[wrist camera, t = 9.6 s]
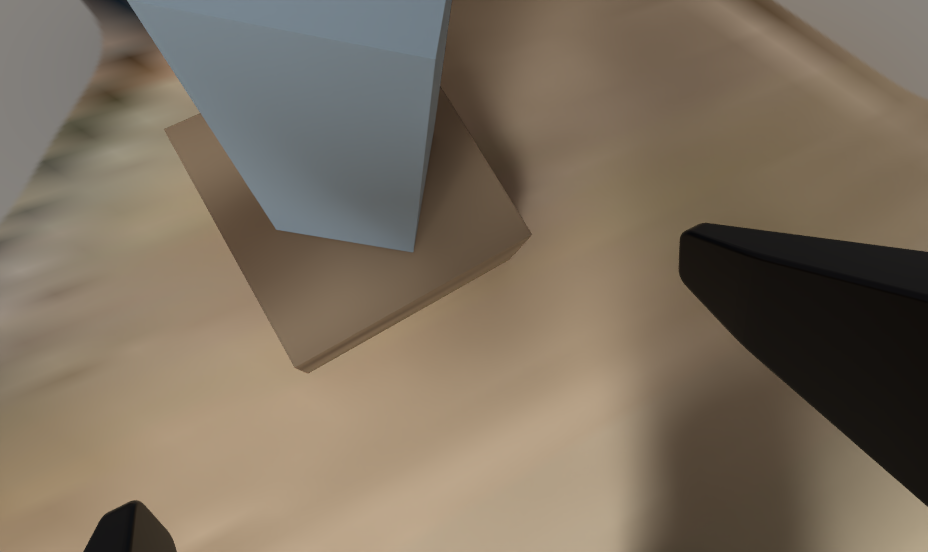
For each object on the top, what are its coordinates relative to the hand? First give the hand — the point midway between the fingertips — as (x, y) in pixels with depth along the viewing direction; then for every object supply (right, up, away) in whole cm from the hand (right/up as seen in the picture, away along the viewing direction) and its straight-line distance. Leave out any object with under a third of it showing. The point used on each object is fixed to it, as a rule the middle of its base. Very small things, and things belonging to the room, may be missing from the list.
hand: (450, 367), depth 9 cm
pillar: (-3, +5, +11) cm, 12 cm away
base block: (-4, +4, +15) cm, 16 cm away
